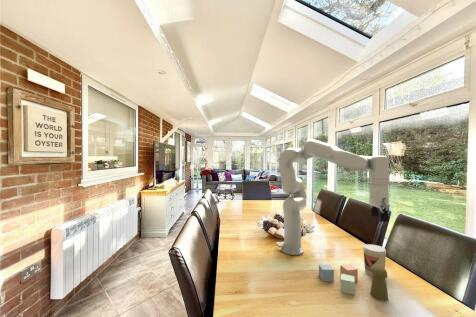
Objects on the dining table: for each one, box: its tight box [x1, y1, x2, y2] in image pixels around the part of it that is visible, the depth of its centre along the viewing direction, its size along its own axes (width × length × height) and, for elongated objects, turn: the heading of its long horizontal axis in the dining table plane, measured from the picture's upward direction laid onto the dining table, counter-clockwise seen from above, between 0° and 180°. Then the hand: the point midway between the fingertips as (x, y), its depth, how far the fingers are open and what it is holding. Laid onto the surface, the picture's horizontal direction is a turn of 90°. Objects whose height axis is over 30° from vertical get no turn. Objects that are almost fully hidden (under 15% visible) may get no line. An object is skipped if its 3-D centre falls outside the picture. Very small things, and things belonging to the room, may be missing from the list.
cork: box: [369, 266, 389, 302], centre depth 89 cm, size 6×6×11 cm
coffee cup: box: [362, 243, 387, 277], centre depth 106 cm, size 9×9×12 cm
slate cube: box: [318, 263, 335, 282], centre depth 102 cm, size 5×5×5 cm
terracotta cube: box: [339, 263, 359, 282], centre depth 102 cm, size 5×5×5 cm
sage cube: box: [340, 274, 356, 295], centre depth 93 cm, size 5×5×5 cm
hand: (379, 218), depth 105 cm, fingers open, 9 cm apart
